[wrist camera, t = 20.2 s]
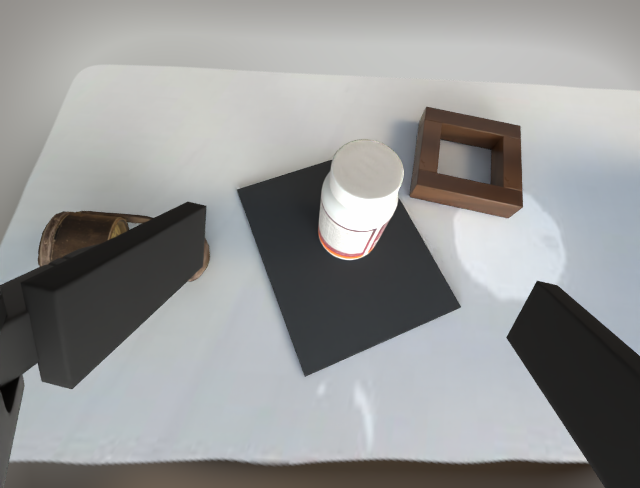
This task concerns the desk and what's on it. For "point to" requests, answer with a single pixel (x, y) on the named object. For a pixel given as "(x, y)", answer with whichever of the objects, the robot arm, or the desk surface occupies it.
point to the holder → (463, 193)
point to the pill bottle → (358, 198)
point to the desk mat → (340, 273)
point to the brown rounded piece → (89, 234)
